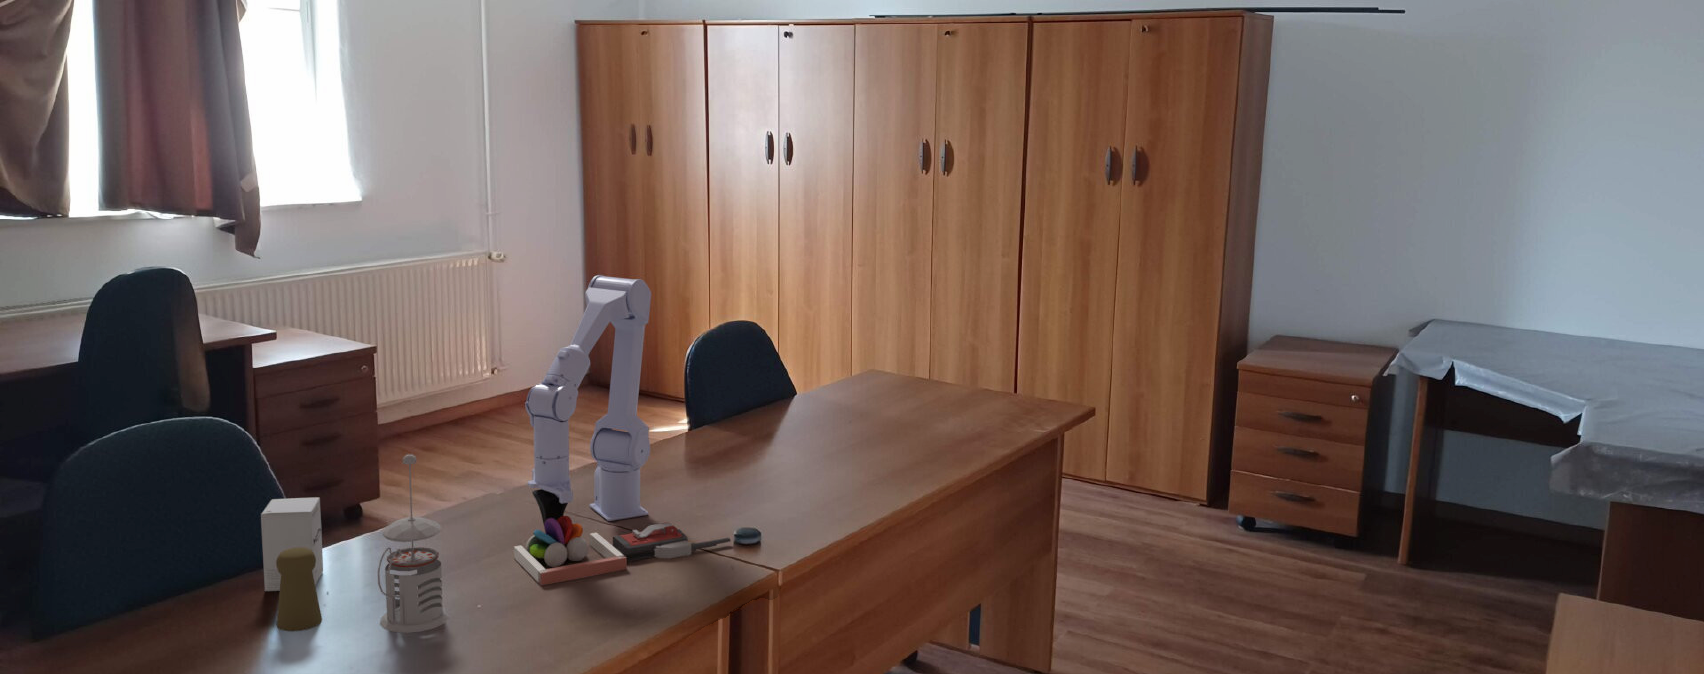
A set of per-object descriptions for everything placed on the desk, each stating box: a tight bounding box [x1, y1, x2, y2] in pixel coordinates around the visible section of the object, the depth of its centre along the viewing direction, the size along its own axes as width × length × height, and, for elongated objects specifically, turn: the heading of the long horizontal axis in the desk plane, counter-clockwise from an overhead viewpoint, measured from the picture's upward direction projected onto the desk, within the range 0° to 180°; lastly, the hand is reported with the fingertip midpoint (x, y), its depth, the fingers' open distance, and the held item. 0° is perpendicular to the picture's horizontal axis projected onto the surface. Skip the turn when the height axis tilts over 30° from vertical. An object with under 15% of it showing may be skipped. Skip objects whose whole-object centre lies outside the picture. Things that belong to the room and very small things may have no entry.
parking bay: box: [513, 532, 628, 586], centre depth 205 cm, size 13×14×2 cm
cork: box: [276, 547, 323, 632], centre depth 179 cm, size 6×6×11 cm
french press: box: [377, 454, 451, 634], centre depth 179 cm, size 10×12×25 cm
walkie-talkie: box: [612, 522, 732, 562], centre depth 213 cm, size 9×4×20 cm
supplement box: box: [260, 497, 324, 592], centre depth 193 cm, size 7×7×13 cm
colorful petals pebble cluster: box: [525, 515, 589, 568], centre depth 206 cm, size 8×10×7 cm
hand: (552, 531), depth 211 cm, fingers closed
